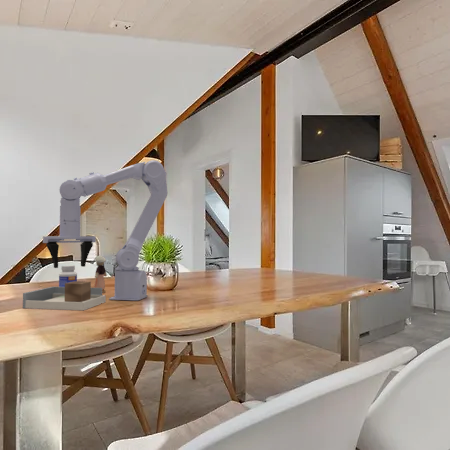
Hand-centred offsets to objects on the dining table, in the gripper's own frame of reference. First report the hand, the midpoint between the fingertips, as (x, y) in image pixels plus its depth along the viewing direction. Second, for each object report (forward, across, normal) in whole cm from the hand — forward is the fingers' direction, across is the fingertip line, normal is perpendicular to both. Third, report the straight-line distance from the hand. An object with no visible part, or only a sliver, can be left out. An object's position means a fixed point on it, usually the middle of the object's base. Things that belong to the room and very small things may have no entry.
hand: (69, 267), depth 110 cm
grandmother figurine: (+10, -13, -12) cm, 21 cm away
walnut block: (+8, +1, +11) cm, 14 cm away
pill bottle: (+10, -2, -11) cm, 16 cm away
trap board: (+10, +2, +6) cm, 12 cm away
